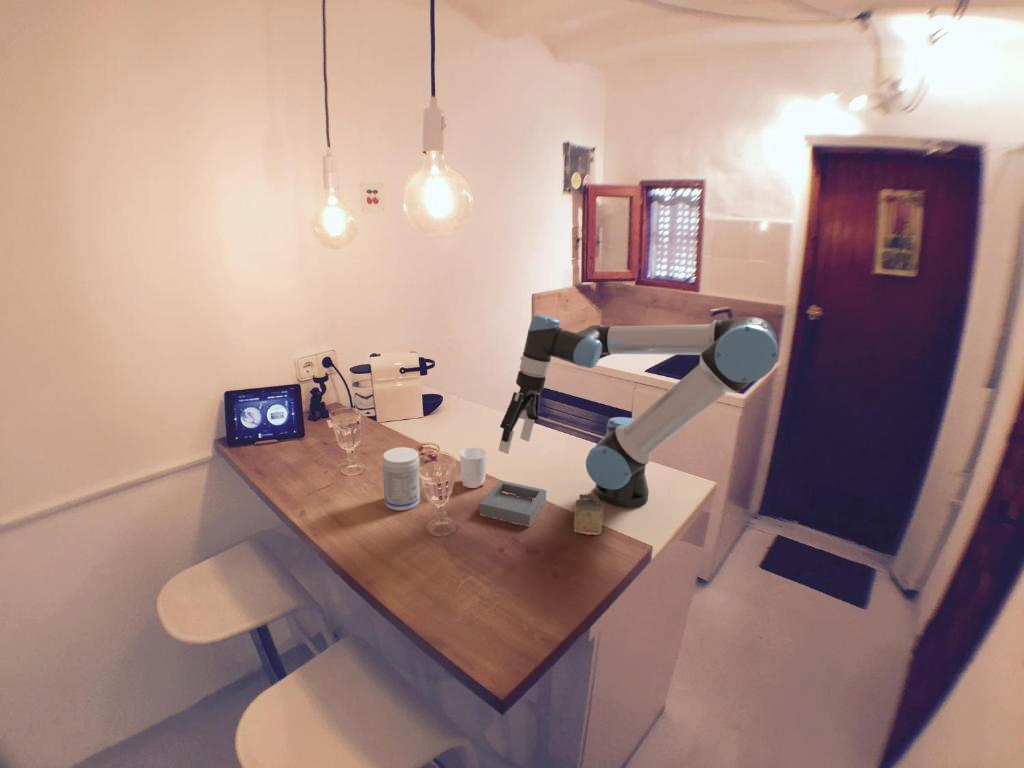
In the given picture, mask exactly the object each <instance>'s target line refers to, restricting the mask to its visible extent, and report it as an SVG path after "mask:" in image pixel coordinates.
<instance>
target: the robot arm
mask: <svg viewBox="0 0 1024 768" xmlns="http://www.w3.org/2000/svg"><path fill="white" fill-rule="evenodd" d="M529 324H530V325H529V328H528V329H527V335H526V339H525V344H524V348H523V352H522V356H521V357H520V365H519V369H520V370H519V371H518V373H517V377H516V380H515V384H516V385H517V386H518V387H519V391H518V392H515V391H514V392H513V394H512V397H511V400H510V403H509V405H508V407H507V410H506V412H505V414H504V416H503V419H502V420H501V423H500V424H499V425H500V426H499V427H500V428H501V429H503V430H502V434H501V438H500V442H499V446H498V451H499V452H501V453H503V454H506V455H508V454H509V452H510V447H511V445H512V441H513V436H514V433H515V430H513V429H514V428H515V426H516V424H517V422H518V421H519V419H520V417H521V415H522V414H523V412H524V411H525V413H526V417H525V418H524V421H523V426H522V428H521V432H520V437H519V438H520V440H523V441H526V442H530V440H531V436H532V431H533V429H534V424H535V421H538V420H539V418H540V417H539V416H540V405H541V394H542V391H543V390H544V387H545V383H546V379H547V378H546V376H548V373H549V369H550V364H551V361H552V360H551V359H552V357H553V358H556V359H559V360H561V361H565V362H567V363H571V364H573V365H576V366H578V367H583V368H588V369H592V368H594V367H596V366H597V363H599V361H600V357H601V355H668V356H670V355H683V356H686V355H687V356H690V355H691V356H692V355H693V356H695V355H696V356H699V363H698V365H696V366H695V367H694V368H693V369H692V370H691V371H689V373H687V374H686V375H685V376H684V377H683V378H681V379H680V380H679V381H678V382H677V383H676V384H675V385H673V386H672V387H671V388H670V389H669V390H668V391H666V392H665V393H664V394H662V396H660V398H658V399H657V400H656V401H654V403H652V404H651V405H650V406H649V407H648V408H647V409H646V410H644V411H643V412H642V413H641V414H640V415H639V416H637V417H636V418H632V417H627V416H626V417H625V416H617V417H611V418H609V419H608V421H607V424H606V433H605V435H604V436H603V437H602V438H601V439H600V440H599V442H598V443H597V444H596V445H595V446H594V447H592V448H591V449H590V450H589V451H588V455H587V457H586V460H585V468H586V471H587V474H588V476H589V478H591V480H592V481H593V482H594V483H595V488H594V489H595V491H594V492H595V496H598V498H599V500H600V501H601V502H604V503H606V504H608V505H611V506H615V507H619V508H637V507H642V506H643V505H645V504H646V503H647V502H648V500H649V490H650V489H649V487H648V482H647V478H646V474H645V473H646V465H647V464H649V463H650V462H651V460H652V458H651V457H652V453H653V452H654V451H655V450H656V449H657V448H659V447H660V446H661V445H662V444H664V443H665V442H666V441H667V440H669V439H670V438H671V437H673V436H674V435H675V434H676V433H677V432H679V431H680V430H681V429H683V428H684V427H685V426H686V425H688V424H689V423H690V422H691V421H692V420H694V419H695V418H696V417H698V416H699V415H700V414H701V413H703V412H704V411H705V410H706V409H708V408H709V407H710V406H711V405H712V404H714V403H715V402H717V401H718V400H719V399H720V398H721V397H722V396H724V395H725V394H726V393H734V394H735V393H739V392H740V391H741V390H743V389H745V388H746V387H747V386H748V385H750V383H754V382H756V381H758V380H761V379H763V378H764V377H765V376H767V375H768V374H769V373H770V372H771V371H772V370H773V368H774V367H775V365H776V364H777V361H778V358H779V353H780V347H779V336H778V334H777V332H776V329H775V328H774V327H773V326H772V325H771V323H769V322H768V321H766V320H764V319H762V318H758V317H755V316H750V317H748V316H747V317H738V318H732V319H731V318H730V319H729V318H728V319H714V320H713V321H712V322H711V323H705V324H665V325H662V324H661V325H660V324H659V325H657V324H656V325H622V326H621V325H617V326H616V325H614V326H613V325H612V326H604V325H601V324H594V325H590V326H588V327H586V328H584V329H583V330H579V331H578V332H573V331H569V330H566V329H563V328H562V327H561V320H559V319H558V318H556V317H552V316H549V315H544V314H535V315H533V316H532V318H531V322H530V323H529Z"/></svg>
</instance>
